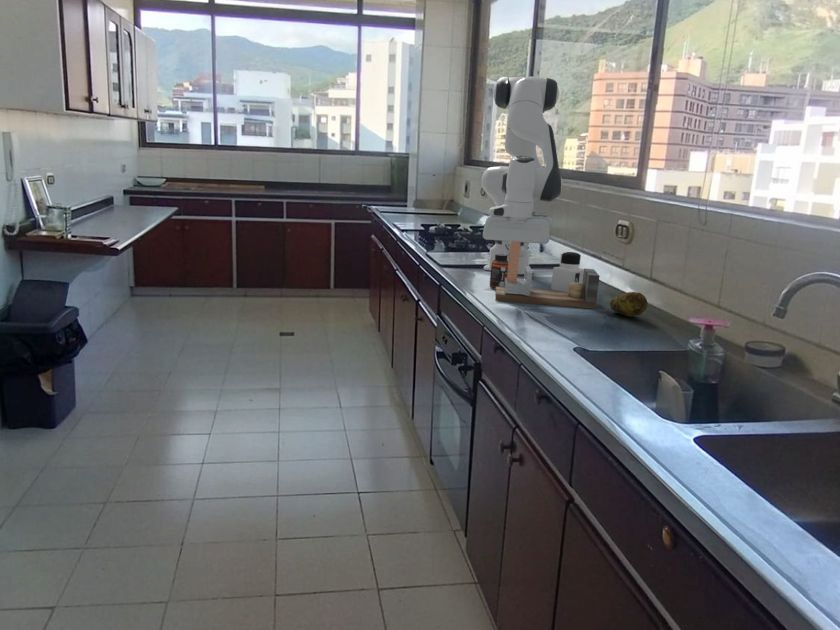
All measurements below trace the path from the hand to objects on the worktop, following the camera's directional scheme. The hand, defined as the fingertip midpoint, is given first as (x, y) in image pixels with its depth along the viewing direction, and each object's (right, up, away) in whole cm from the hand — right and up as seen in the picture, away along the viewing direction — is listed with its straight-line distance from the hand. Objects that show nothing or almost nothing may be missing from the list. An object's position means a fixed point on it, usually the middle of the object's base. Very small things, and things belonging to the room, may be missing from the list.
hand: (513, 256), depth 207 cm
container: (+20, -10, +20) cm, 30 cm away
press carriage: (+1, -11, +2) cm, 11 cm away
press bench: (+10, -14, +2) cm, 17 cm away
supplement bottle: (-3, -9, +17) cm, 20 cm away
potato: (+31, -19, -13) cm, 38 cm away
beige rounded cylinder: (+19, -12, +1) cm, 23 cm away
